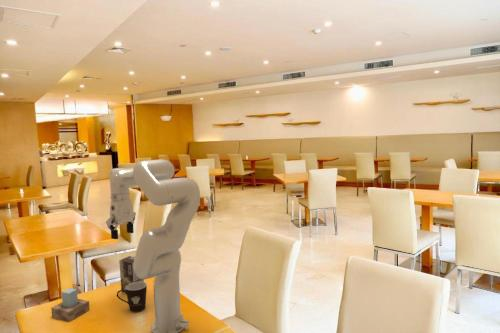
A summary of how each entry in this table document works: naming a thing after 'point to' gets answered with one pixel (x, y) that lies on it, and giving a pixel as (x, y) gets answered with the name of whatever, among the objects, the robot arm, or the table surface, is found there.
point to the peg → (69, 298)
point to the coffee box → (127, 272)
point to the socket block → (70, 310)
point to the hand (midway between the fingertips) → (122, 235)
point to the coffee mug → (135, 296)
